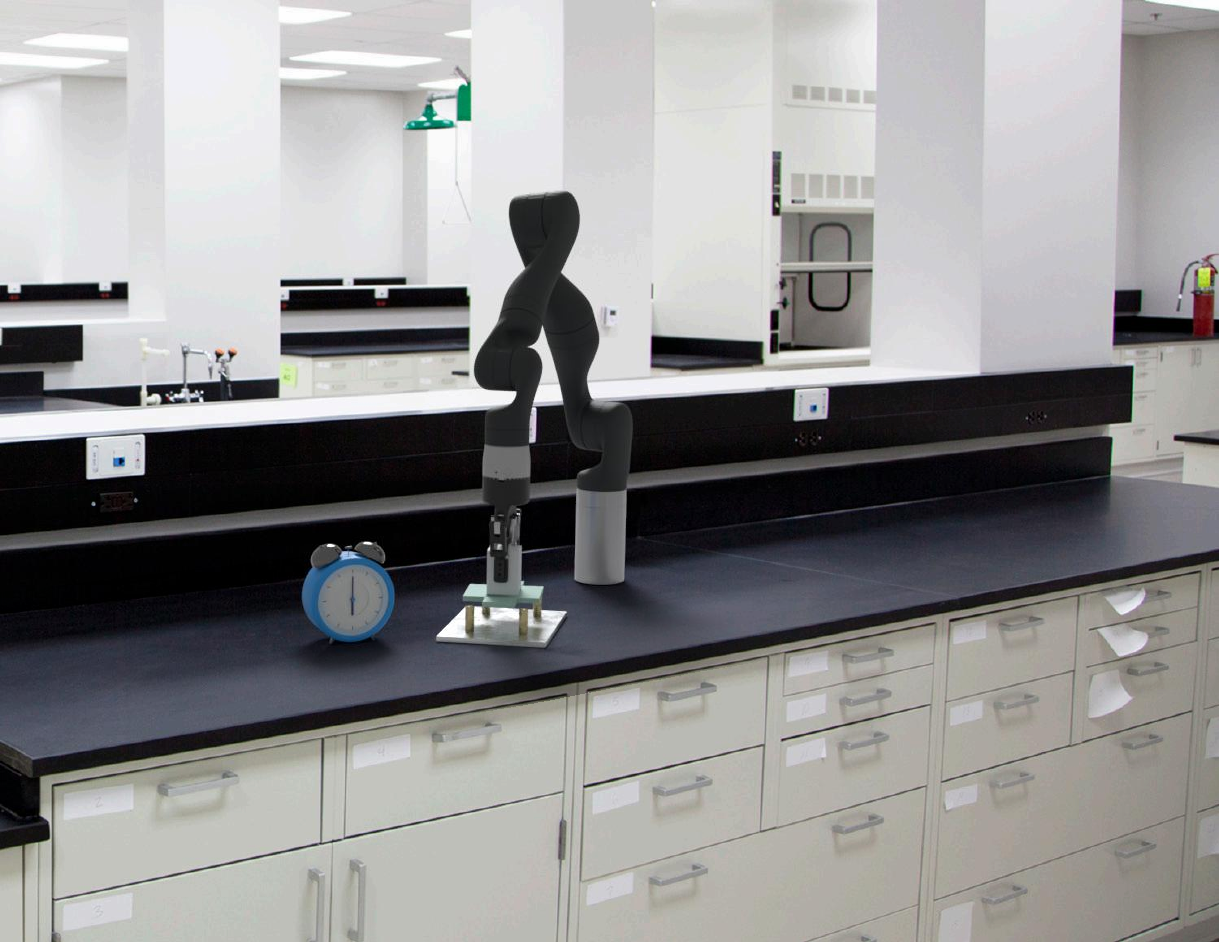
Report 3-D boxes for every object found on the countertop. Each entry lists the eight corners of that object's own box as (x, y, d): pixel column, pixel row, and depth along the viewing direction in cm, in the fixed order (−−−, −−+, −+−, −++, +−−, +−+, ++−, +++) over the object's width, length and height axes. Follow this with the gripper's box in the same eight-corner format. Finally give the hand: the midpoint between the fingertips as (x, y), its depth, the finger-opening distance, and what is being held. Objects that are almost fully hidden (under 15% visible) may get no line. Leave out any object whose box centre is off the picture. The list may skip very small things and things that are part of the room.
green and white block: (472, 584, 248) (473, 537, 247) (545, 586, 247) (546, 540, 246) (459, 606, 232) (460, 556, 231) (537, 608, 232) (538, 558, 231)
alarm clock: (311, 647, 226) (311, 549, 224) (300, 637, 231) (300, 541, 229) (395, 639, 231) (396, 544, 229) (383, 630, 237) (383, 537, 235)
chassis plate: (466, 610, 252) (466, 582, 251) (566, 616, 250) (567, 587, 249) (436, 641, 231) (436, 610, 230) (545, 647, 229) (546, 616, 228)
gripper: (492, 466, 245) (490, 568, 247) (473, 478, 230) (471, 586, 233) (537, 468, 244) (535, 571, 246) (521, 480, 229) (519, 589, 232)
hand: (504, 578), depth 239 cm, fingers closed on green and white block, 5 cm apart
